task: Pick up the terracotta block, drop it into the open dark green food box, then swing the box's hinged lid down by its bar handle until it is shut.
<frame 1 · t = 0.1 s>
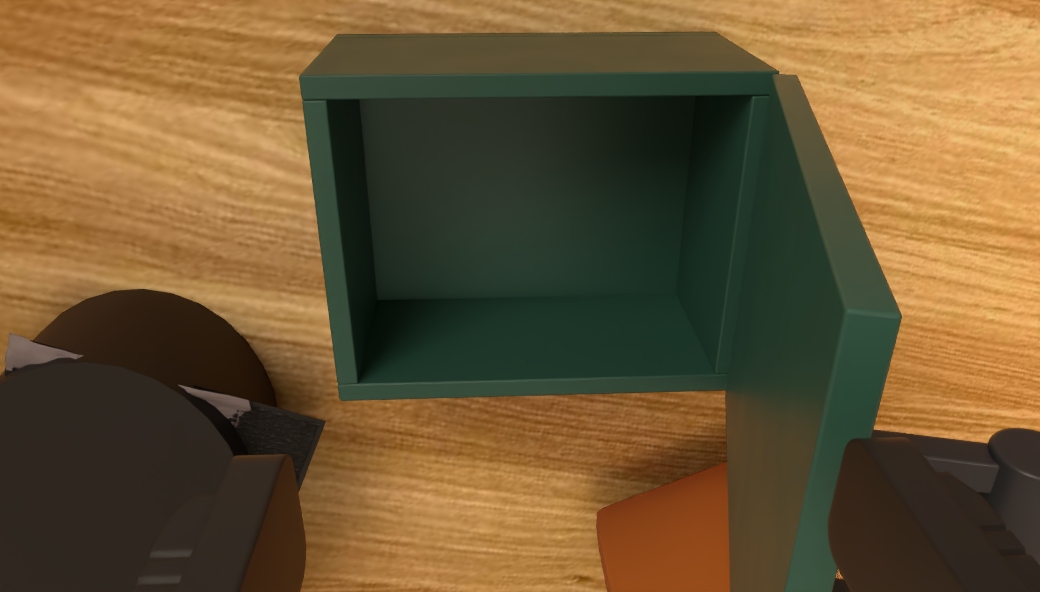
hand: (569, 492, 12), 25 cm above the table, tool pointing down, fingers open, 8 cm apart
tape dispenser: (160, 441, 41), on the table
lid: (858, 384, 21), point 17 cm above the table, hinge at 75.0°
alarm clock: (722, 584, 48), on the table
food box: (527, 179, 35), on the table
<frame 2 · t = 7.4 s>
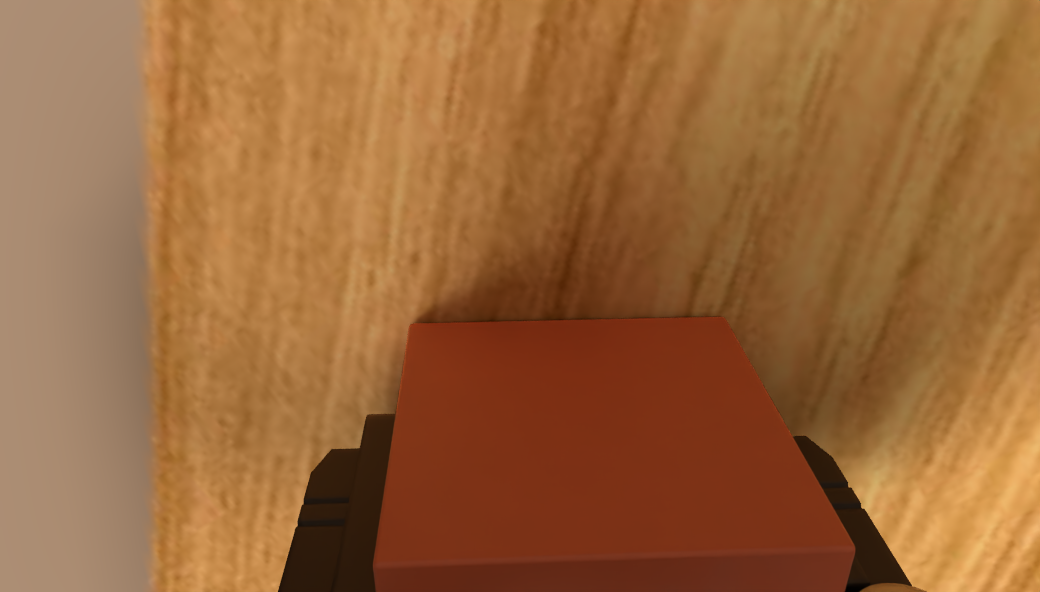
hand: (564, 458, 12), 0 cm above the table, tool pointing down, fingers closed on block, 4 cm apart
block: (564, 445, 13), on the table, touching gripper
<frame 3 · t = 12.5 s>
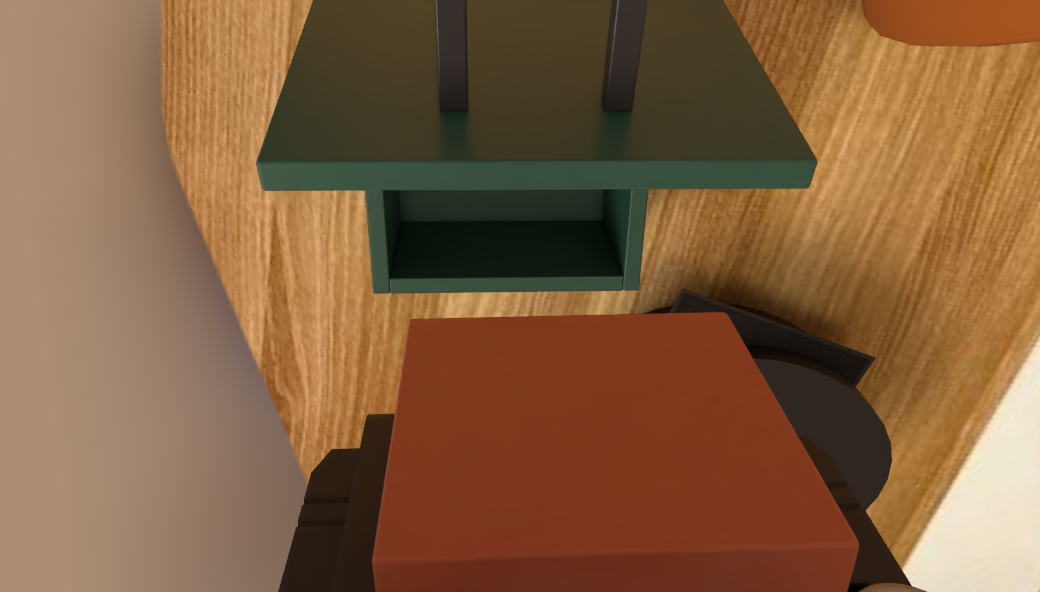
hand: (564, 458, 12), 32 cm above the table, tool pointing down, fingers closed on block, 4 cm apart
tape dispenser: (720, 388, 51), on the table
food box: (502, 88, 41), on the table
block: (565, 441, 13), point 31 cm above the table, touching gripper
when the fingers open (9 cm above the table, at t = 17.6 s): block drops 8 cm, resting on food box.
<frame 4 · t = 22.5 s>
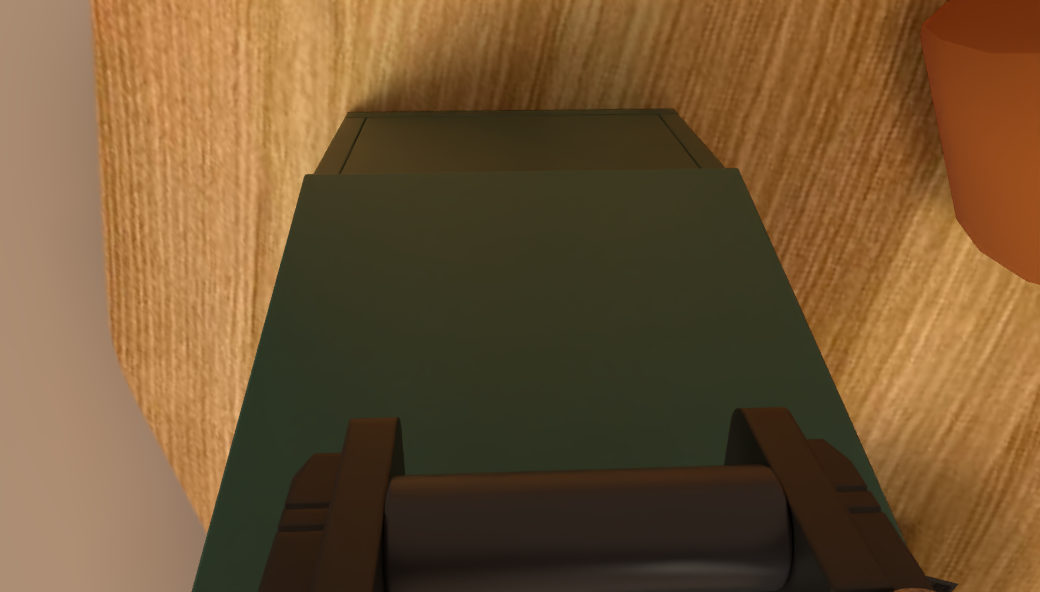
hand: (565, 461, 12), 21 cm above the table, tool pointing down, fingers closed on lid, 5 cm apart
lid: (546, 324, 16), point 17 cm above the table, hinge at 75.0°, touching gripper
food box: (513, 290, 34), on the table
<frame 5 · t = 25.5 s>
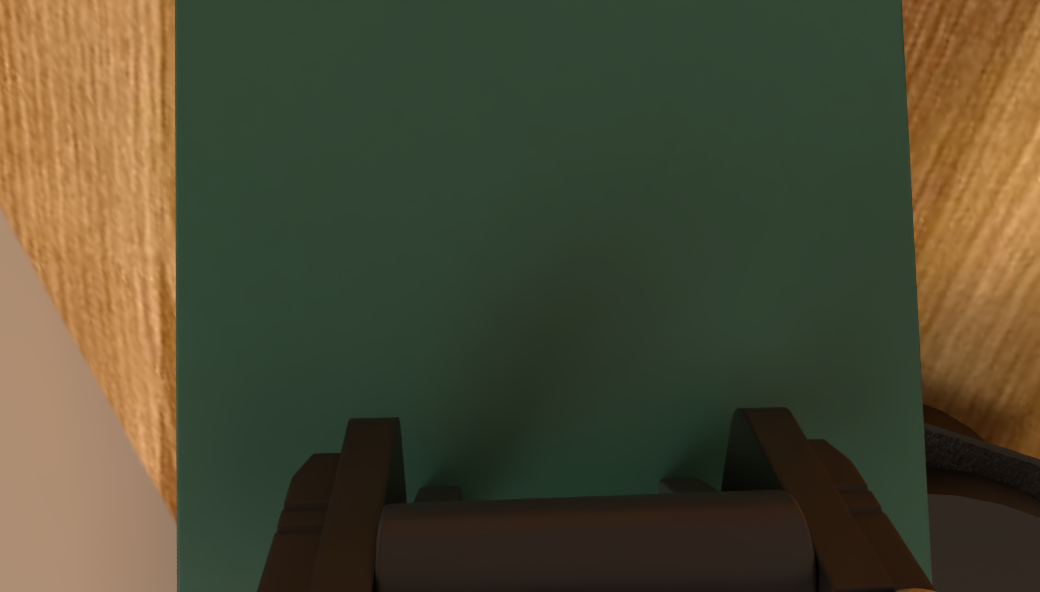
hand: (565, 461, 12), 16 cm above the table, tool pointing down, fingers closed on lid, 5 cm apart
tape dispenser: (834, 504, 35), on the table
lid: (561, 137, 12), point 14 cm above the table, hinge at 30.5°, touching gripper
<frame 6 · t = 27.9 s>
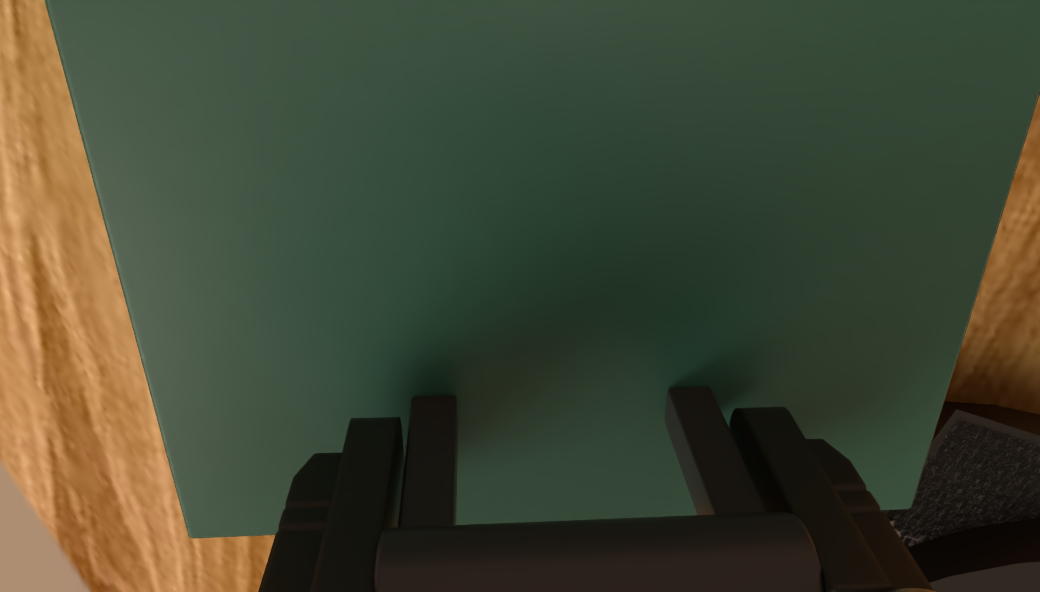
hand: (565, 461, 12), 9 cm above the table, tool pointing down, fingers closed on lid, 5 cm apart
tape dispenser: (934, 549, 27), on the table
lid: (593, 66, 8), point 10 cm above the table, hinge at -0.2°, touching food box, gripper
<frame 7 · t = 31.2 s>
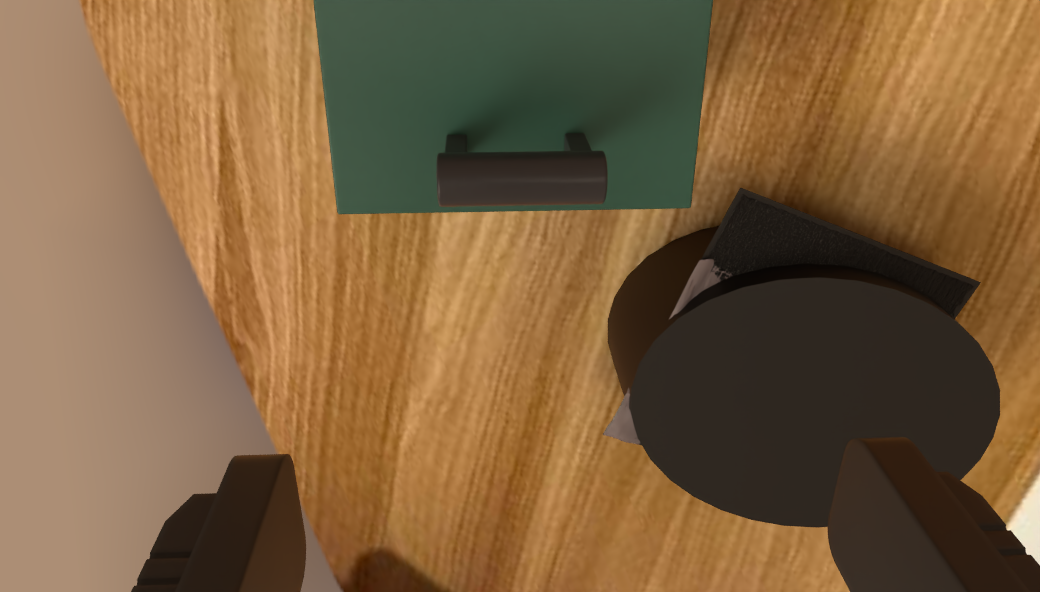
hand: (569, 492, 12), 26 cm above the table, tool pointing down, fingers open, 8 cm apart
tape dispenser: (776, 332, 41), on the table
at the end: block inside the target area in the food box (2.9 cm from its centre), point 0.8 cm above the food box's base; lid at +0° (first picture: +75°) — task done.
